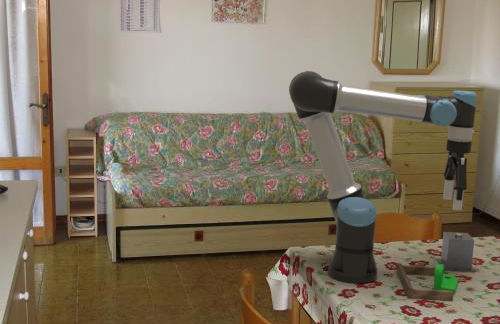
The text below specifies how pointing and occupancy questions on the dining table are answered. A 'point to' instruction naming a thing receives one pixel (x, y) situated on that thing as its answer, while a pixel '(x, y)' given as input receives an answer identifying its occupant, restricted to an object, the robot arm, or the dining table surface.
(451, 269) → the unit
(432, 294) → the bay
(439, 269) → the mechanical part
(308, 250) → the dining table surface
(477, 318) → the dining table surface
